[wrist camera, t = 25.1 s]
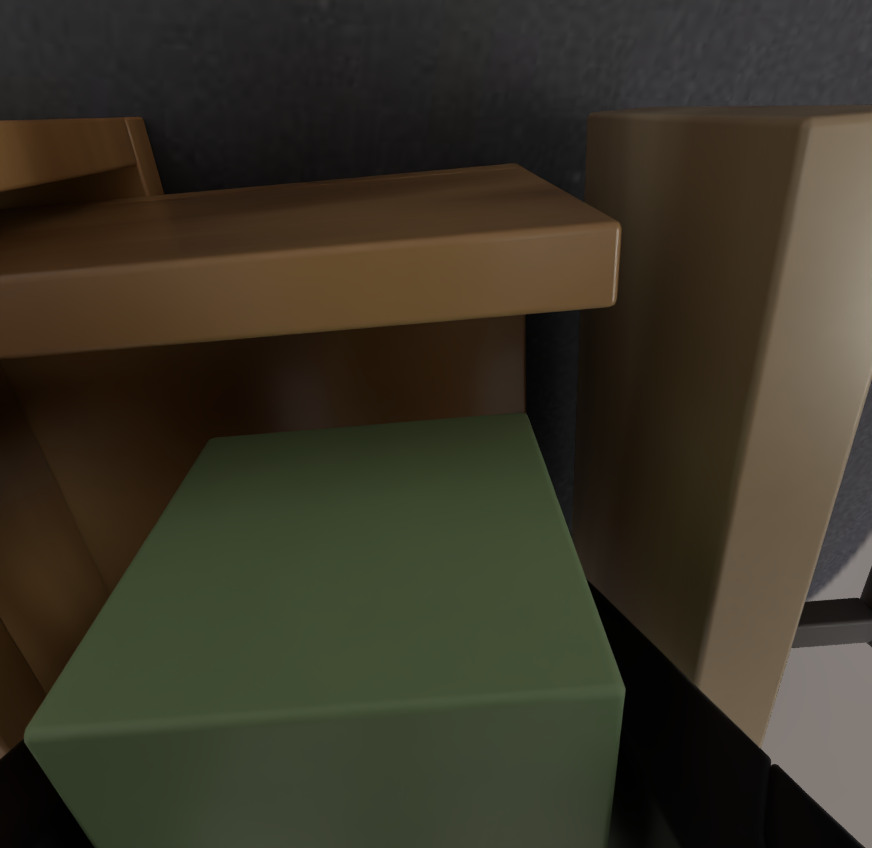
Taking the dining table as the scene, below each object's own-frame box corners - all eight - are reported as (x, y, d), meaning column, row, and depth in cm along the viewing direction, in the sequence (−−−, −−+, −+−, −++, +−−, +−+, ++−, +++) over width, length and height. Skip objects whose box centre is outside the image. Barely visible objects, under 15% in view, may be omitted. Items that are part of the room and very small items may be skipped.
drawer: (915, 82, 10) (1578, 46, 4) (786, 566, 16) (1007, 842, 10) (-82, 173, 11) (-710, 253, 5) (124, 618, 16) (-49, 918, 10)
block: (528, 636, 10) (598, 964, 6) (275, 655, 10) (186, 993, 6) (527, 409, 8) (630, 692, 4) (208, 435, 8) (12, 739, 4)
